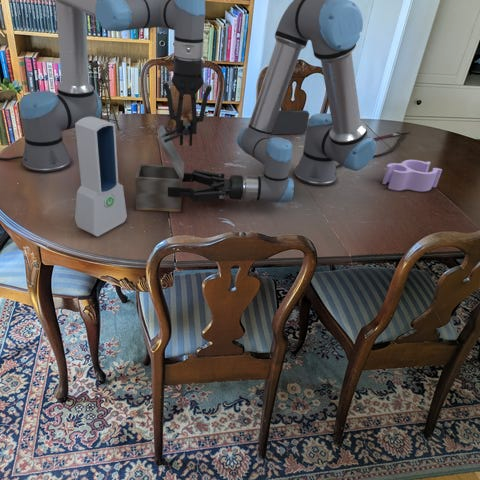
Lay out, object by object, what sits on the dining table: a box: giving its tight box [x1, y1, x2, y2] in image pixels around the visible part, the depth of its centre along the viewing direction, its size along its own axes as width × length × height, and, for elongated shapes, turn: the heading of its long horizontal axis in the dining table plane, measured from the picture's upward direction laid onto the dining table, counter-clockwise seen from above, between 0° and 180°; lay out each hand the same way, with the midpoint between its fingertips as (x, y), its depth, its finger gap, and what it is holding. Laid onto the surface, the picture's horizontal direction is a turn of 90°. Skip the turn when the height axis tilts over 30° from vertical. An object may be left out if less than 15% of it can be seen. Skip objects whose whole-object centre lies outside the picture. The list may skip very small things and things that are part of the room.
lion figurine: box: [164, 110, 199, 134], centre depth 194 cm, size 15×5×9 cm, turn 110°
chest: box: [134, 163, 184, 213], centre depth 141 cm, size 13×10×10 cm
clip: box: [381, 159, 443, 192], centre depth 171 cm, size 20×12×7 cm, turn 109°
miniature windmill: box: [90, 53, 120, 130], centre depth 181 cm, size 9×8×30 cm
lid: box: [156, 122, 190, 179], centre depth 134 cm, size 14×10×9 cm
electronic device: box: [74, 116, 128, 238], centre depth 122 cm, size 12×8×30 cm, turn 148°
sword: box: [372, 131, 411, 141], centre depth 215 cm, size 31×3×1 cm, turn 126°
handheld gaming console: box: [271, 109, 310, 135], centre depth 204 cm, size 23×3×10 cm, turn 108°
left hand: (186, 143), depth 134 cm, fingers closed on lid, 2 cm apart
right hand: (169, 183), depth 141 cm, fingers closed on chest, 9 cm apart
